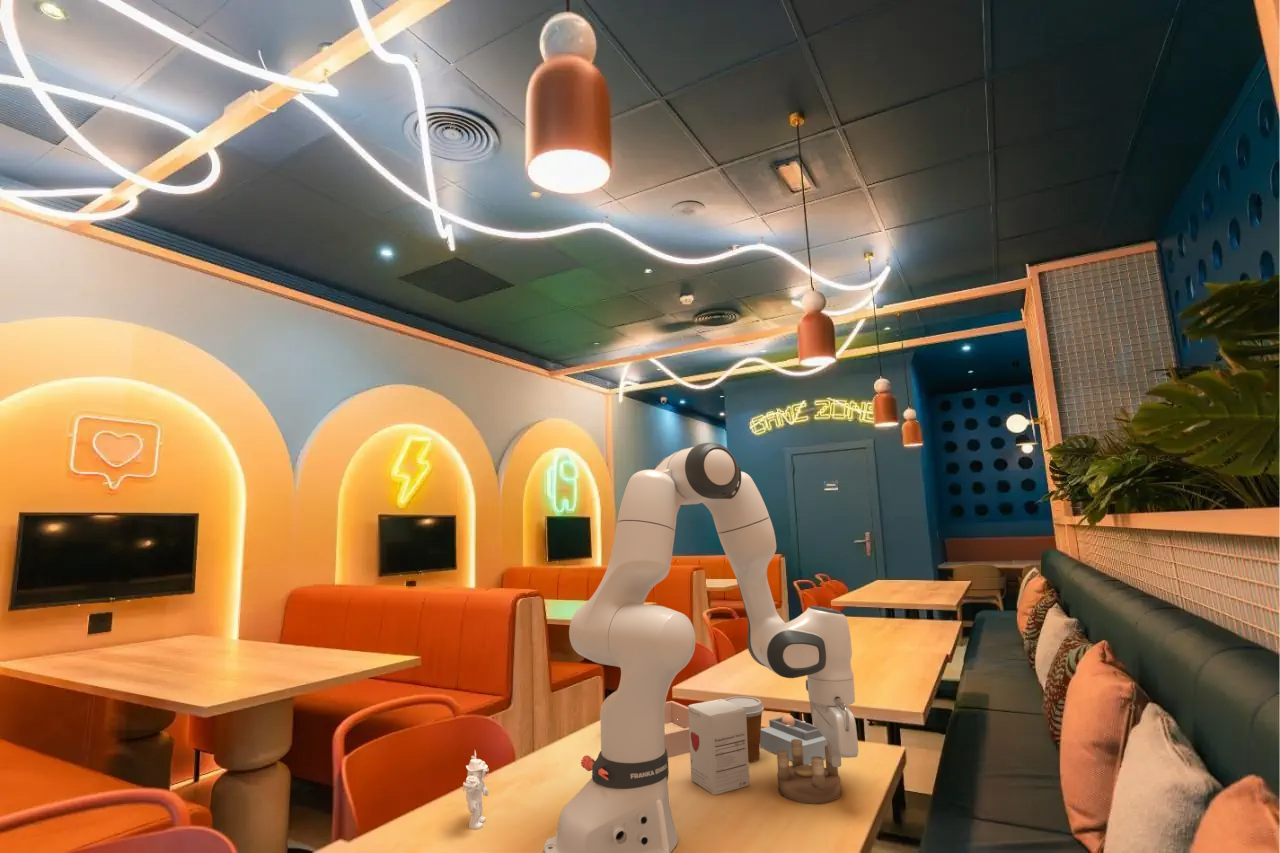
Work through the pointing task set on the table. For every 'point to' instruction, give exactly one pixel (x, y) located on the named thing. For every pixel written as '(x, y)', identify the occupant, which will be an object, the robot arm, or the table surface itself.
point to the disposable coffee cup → (751, 723)
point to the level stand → (782, 735)
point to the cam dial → (807, 776)
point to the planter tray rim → (677, 739)
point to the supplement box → (718, 746)
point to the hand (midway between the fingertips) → (835, 765)
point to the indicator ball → (788, 720)
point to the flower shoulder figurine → (476, 791)
